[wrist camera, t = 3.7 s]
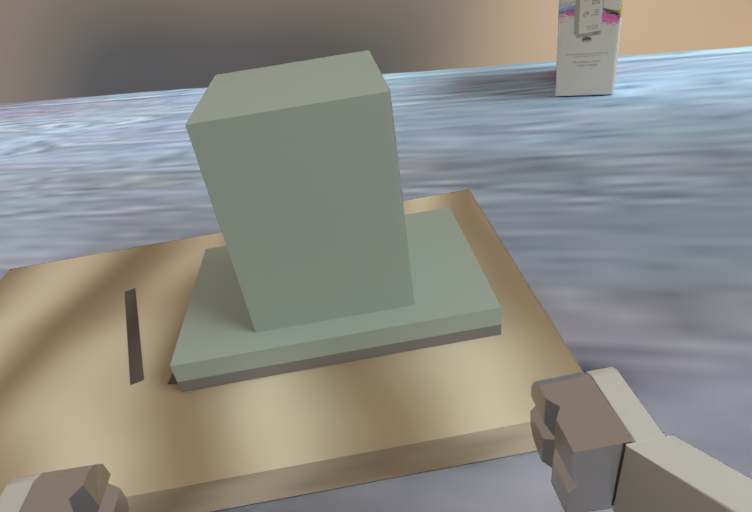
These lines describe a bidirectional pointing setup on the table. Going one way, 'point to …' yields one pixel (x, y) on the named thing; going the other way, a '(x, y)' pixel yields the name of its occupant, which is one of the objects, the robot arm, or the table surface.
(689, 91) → the table surface
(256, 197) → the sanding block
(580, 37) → the ink cartridge box
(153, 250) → the birch board
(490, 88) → the table surface
